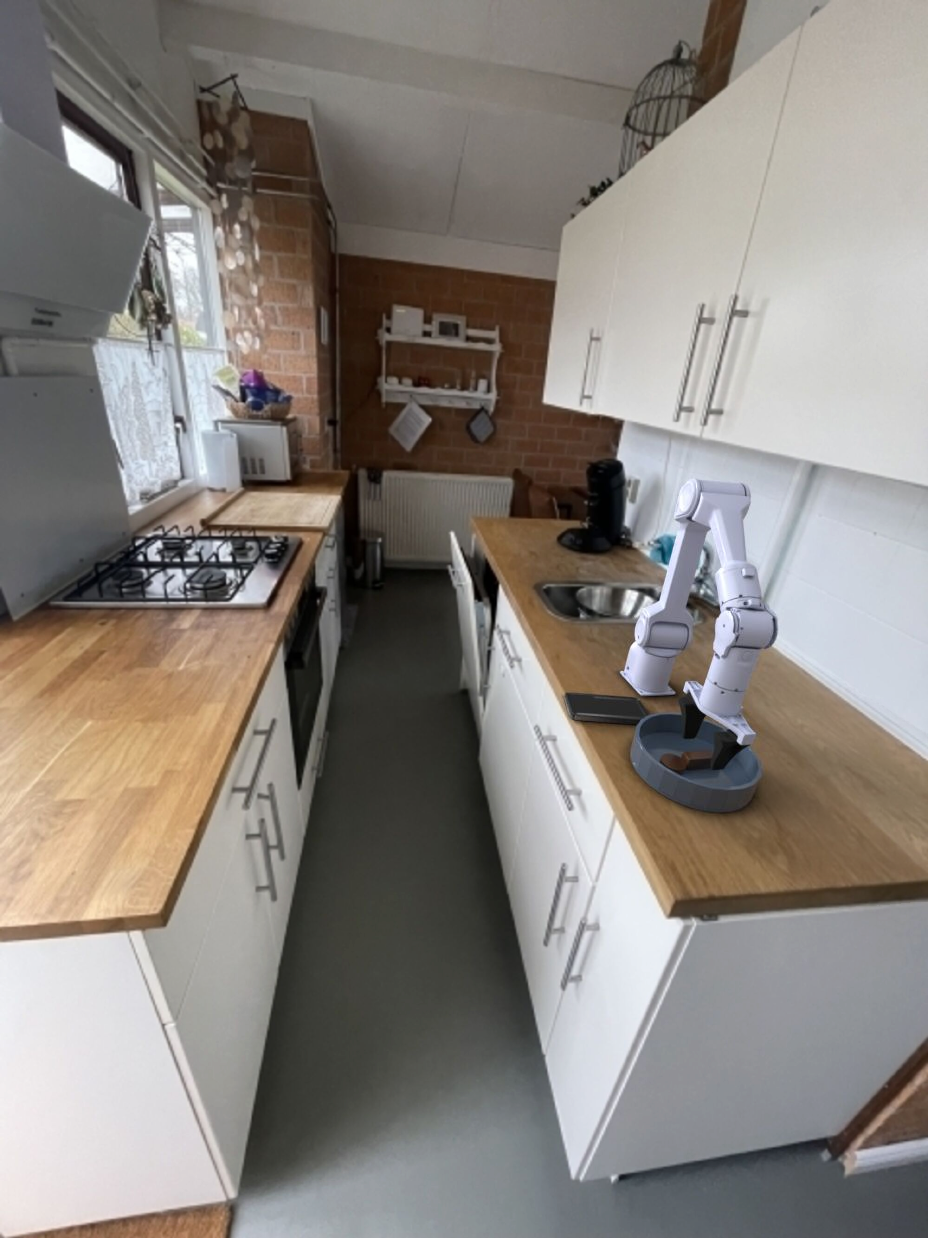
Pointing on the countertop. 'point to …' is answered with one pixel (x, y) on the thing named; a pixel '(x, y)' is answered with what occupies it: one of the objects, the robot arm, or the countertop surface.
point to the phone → (604, 708)
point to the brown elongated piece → (687, 761)
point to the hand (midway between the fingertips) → (702, 752)
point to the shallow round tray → (698, 785)
